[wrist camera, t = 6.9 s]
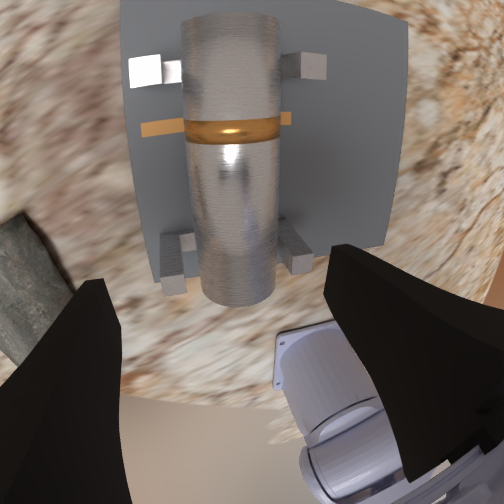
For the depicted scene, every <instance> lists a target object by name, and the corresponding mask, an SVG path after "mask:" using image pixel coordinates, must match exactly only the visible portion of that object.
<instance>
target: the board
mask: <svg viewBox="0 0 504 504" xmlns="http://www.w3.org/2000/svg"><path fill="white" fill-rule="evenodd" d="M227 12H245V13H257V14H264V15H269V16H272V17H275V18H277V19H279V20H280V34H281V55H286V54H291V53H297V52H308V53H317V54H325V55H327V72H326V80H314V79H283V78H281V133H280V175H279V211H278V218H280V217H285V218H286V219H287V220H288V221H289V223H290V224H291V225H292V226H293V228H294V229H295V230H296V231H297V233H298V234H299V235H300V236H301V238H302V239H303V240H304V241H305V243H306V244H307V245H308V246H309V248H310V249H311V250H312V251H313V253H314V257H319V256H325V255H330V253H331V247H332V246H334V245H341V244H350V245H353V246H355V247H357V248H359V249H364V248H370V247H376V246H381V245H384V240H385V236H386V232H387V227H388V222H389V218H390V213H391V208H392V202H393V197H394V192H395V186H396V180H397V174H398V167H399V161H400V154H401V146H402V138H403V129H404V119H405V108H406V95H407V77H408V22H406V21H404V20H401V19H398V18H395V17H392V16H390V15H387V14H383V13H380V12H377V11H374V10H371V9H367V8H364V7H360V6H356V5H352V4H348V3H344V2H340V1H336V0H120V46H121V70H122V86H123V99H124V110H125V120H126V129H127V138H128V146H129V153H130V160H131V167H132V174H133V180H134V186H135V192H136V198H137V203H138V209H139V214H140V219H141V224H142V229H143V234H144V239H145V244H146V248H147V253H148V257H149V261H150V266H151V270H152V274H153V278H154V282H155V283H158V282H161V281H160V234H163V233H170V232H177V231H183V230H190V229H194V227H193V218H192V209H191V200H190V190H189V180H188V169H187V158H186V146H185V136H184V122H183V102H182V83H181V82H177V83H168V84H160V85H153V86H146V87H138V88H131V87H130V71H129V59H132V58H138V57H144V56H151V55H158V54H160V55H161V59H162V62H168V61H178V60H181V58H180V24H181V23H182V22H183V21H185V20H188V19H190V18H194V17H198V16H202V15H208V14H215V13H227ZM182 257H183V265H184V273H185V278H191V277H197V276H200V274H199V266H198V259H197V251H196V250H192V251H185V252H182ZM278 263H284V262H283V261H282V259H281V257H280V256H279V254H278V252H277V264H278Z"/></svg>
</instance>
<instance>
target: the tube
mask: <svg viewBox="0 0 504 504" xmlns="http://www.w3.org/2000/svg"><path fill="white" fill-rule="evenodd" d="M180 58H181V83H182V102H183V122H184V136H185V146H186V158H187V169H188V180H189V190H190V200H191V209H192V218H193V227H194V235H195V243H196V251H197V259H198V266H199V274H200V281H201V288H202V291H203V293H204V294H205V295H206V297H207V298H209V299H210V300H211V301H213V302H215V303H217V304H220V305H223V306H229V307H245V306H250V305H254V304H257V303H259V302H261V301H263V300H265V299H266V298H267V297H269V296H270V295H271V294H272V292H273V291H274V289H275V285H276V266H277V241H278V211H279V175H280V133H281V34H280V20H279V19H277V18H275V17H272V16H269V15H264V14H257V13H245V12H227V13H215V14H208V15H202V16H198V17H194V18H190V19H188V20H185V21H183V22H182V23H181V24H180Z"/></svg>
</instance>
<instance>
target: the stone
mask: <svg viewBox="0 0 504 504" xmlns="http://www.w3.org/2000/svg"><path fill="white" fill-rule="evenodd" d="M73 295H74V294H73V293H72V292H71V291H70V288H69V287H68V286H67V284H66V282H65V281H64V279H63V278H62V276H61V274H60V273H59V271H58V269H57V268H56V266H55V265H54V263H53V262H52V260H51V258H50V256H49V253H48V251H47V250H46V247H45V246H44V245H43V244H42V242H41V240H40V238H39V236H38V235H37V234H36V233H35V232H34V231H33V230H32V229H31V228H30V227H29V225H28V223H27V221H26V219H25V217H24V216H23V215H16V216H15V217H13V218H12V219H10V220H9V221H7V222H6V223H4V224H3V225H1V226H0V350H1V351H2V352H3V353H4V354H6V355H7V356H8V357H9V358H10V360H11V361H12V362H13V363H14V364H15V365H16V366H18V367H19V365H20V364H21V363H22V362H23V361H24V360H25V358H26V357H27V356H28V355H29V353H30V352H31V351H32V350H33V348H34V347H35V346H36V344H37V343H38V342H39V340H40V339H41V338H42V336H43V335H44V334H45V333H46V331H47V330H48V329H49V328H50V326H51V325H52V323H53V322H54V321H55V319H56V318H57V317H58V315H59V314H60V313H61V311H62V310H63V309H64V307H65V306H66V305H67V303H68V302H69V301H70V299H71V298H72V297H73Z"/></svg>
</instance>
